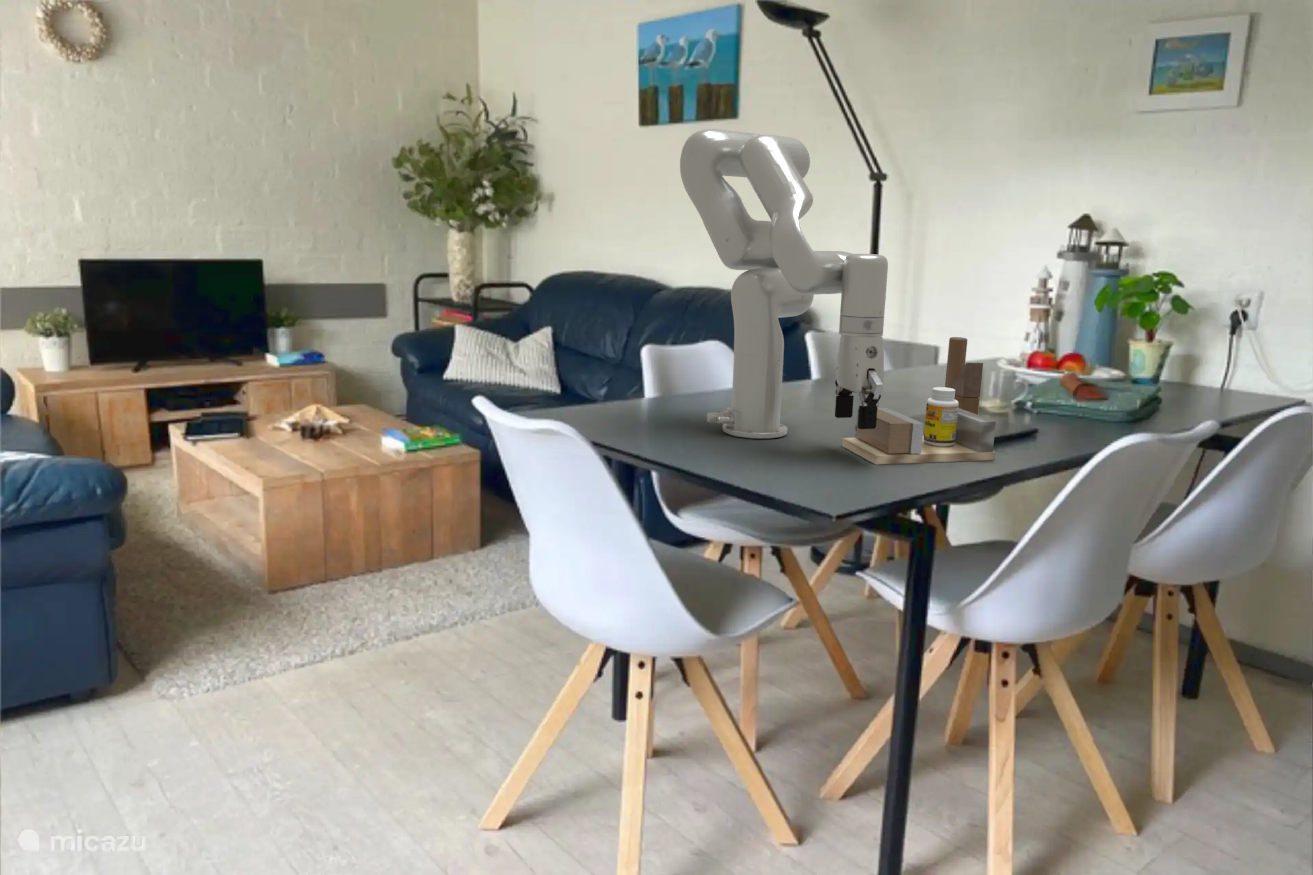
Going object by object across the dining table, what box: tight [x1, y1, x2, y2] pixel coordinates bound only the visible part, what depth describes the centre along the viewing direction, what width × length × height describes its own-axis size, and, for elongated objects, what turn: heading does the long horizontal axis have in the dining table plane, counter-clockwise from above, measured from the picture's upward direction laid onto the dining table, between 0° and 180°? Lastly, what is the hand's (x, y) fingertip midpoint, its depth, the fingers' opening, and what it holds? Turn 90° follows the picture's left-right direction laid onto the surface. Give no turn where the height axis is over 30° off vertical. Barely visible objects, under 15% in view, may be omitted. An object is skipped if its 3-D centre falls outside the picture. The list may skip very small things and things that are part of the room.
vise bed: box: [841, 408, 997, 465], centre depth 176 cm, size 23×14×7 cm, turn 104°
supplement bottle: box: [923, 386, 959, 447], centre depth 176 cm, size 6×6×10 cm
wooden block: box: [944, 336, 984, 415], centre depth 198 cm, size 4×11×18 cm, turn 7°
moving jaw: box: [855, 407, 925, 454], centre depth 174 cm, size 6×14×5 cm, turn 14°
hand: (854, 422), depth 172 cm, fingers open, 9 cm apart
